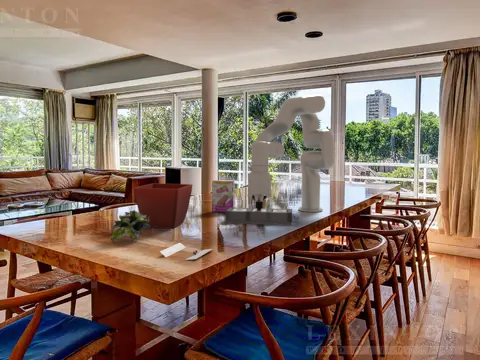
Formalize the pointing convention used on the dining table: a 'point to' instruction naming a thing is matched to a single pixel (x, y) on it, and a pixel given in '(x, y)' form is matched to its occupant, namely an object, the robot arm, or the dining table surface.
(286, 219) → the grey button panel
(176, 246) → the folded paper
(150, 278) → the dining table surface
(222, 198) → the candy bar box
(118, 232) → the green leaves
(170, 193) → the plant pot
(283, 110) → the robot arm
